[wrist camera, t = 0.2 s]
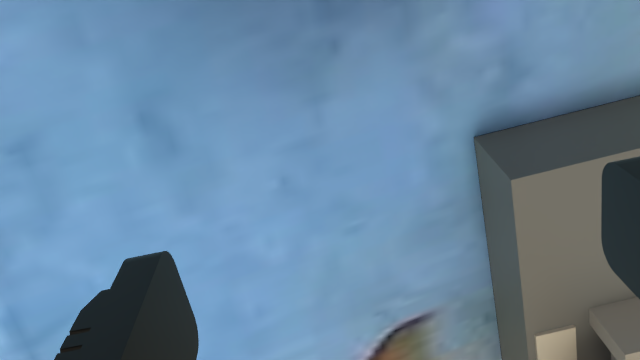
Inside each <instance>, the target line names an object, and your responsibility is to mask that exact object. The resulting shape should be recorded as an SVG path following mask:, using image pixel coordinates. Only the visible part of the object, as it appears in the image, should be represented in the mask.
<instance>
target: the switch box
mask: <svg viewBox="0 0 640 360" xmlns="http://www.w3.org/2000/svg"><path fill="white" fill-rule="evenodd" d="M474 143H475V151H476V158H477V166H478V174H479V182H480V190H481V198H482V206H483V213H484V221H485V229H486V237H487V245H488V253H489V261H490V268H491V276H492V284H493V292H494V300H495V308H496V316H497V323H498V331H499V339H500V347H501V355H502V360H611V353H612V354H613V356H614V357H615V358H616V360H640V299H639V298H638V297H637V296H636V295H635V294H634V293H633V292H632V291H631V290H630V289H629V288H628V287H627V286H626V285H625V284H624V282H623V281H622V280H621V279H620V278H619V277H618V276H617V275H616V274H615V273H614V272H613V270H612V269H611V267H610V266H609V264H608V262H607V260H606V257H605V255H604V251H603V247H602V241H601V204H602V172H603V169H604V167H605V165H606V164H607V163H609V162H614V161H619V160H624V159H629V158H634V157H639V156H640V96H636V97H632V98H628V99H624V100H620V101H616V102H612V103H608V104H604V105H601V106H597V107H593V108H589V109H585V110H581V111H577V112H573V113H569V114H565V115H561V116H557V117H553V118H549V119H545V120H541V121H537V122H533V123H529V124H525V125H521V126H517V127H513V128H509V129H505V130H501V131H497V132H493V133H489V134H485V135H481V136H477V137H474Z"/></svg>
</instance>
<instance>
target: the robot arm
mask: <svg viewBox="0 0 640 360" xmlns="http://www.w3.org/2000/svg"><path fill="white" fill-rule="evenodd" d="M601 241H602V247H603V251H604V255H605V257H606V260H607V262H608V264H609V266H610V267H611V269H612V270H613V272H614V273H615V274H616V275H617V276H618V277H619V278H620V279H621V280H622V281H623V282H624V284H625V285H626V286H627V287H628V288H629V289H630V290H631V291H632V292H633V293H634V294H635V295H636V296H637V297H638V298H639V299H640V156H639V157H634V158H629V159H624V160H619V161H614V162H609V163H607V164H606V165H605V167H604V169H603V172H602V204H601ZM69 332H70V335H69V336H67V337H66V339H65V341H64V343H63V344H62V346H61V348H60V353H58V354H57V355H56V357H55V359H54V360H196V358H197V353H198V330H197V325H196V321H195V317H194V314H193V311H192V309H191V306H190V303H189V300H188V298H187V295H186V292H185V289H184V287H183V284H182V281H181V278H180V276H179V273H178V270H177V267H176V265H175V262H174V260H173V258H172V256H171V254H170V253H169V252H167V251H163V252H158V253H153V254H148V255H143V256H138V257H133V258H128V259H126V260H125V261H124V262H123V264H122V266H121V268H120V270H119V272H118V274H117V276H116V278H115V280H114V282H113V284H112V286H111V288H110V289H108V290H103V291H101V292H100V293H99V294H98V295H97V296H95V297H94V298H93V299H92V300H91V301H90V302H89V303H88V304H87V305H86V306H85V307H84V308H83V309H82V310H81V311H80V313H79V315H78V317H77V319H76V320H75V322H74V324H73V326H72V328H71V330H70V331H69Z"/></svg>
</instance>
